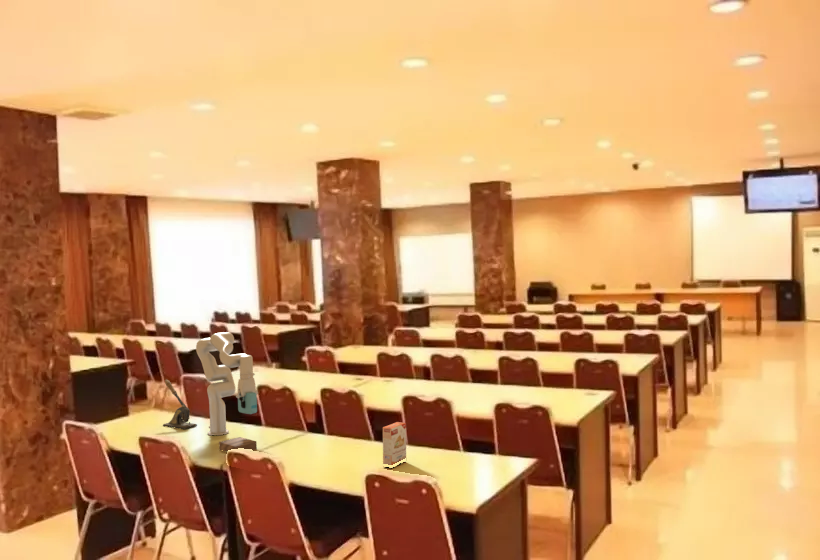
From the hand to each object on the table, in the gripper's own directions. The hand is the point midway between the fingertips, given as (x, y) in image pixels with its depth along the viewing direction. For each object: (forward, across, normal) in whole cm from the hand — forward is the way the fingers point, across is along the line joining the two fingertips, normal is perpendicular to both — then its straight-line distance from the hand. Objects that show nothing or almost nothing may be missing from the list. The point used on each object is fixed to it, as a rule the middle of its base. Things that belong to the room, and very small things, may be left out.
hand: (247, 406), depth 421 cm
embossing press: (+22, +6, -72) cm, 75 cm away
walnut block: (+22, +13, +9) cm, 27 cm away
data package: (+4, 0, 0) cm, 4 cm away
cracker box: (+21, -23, +100) cm, 104 cm away
